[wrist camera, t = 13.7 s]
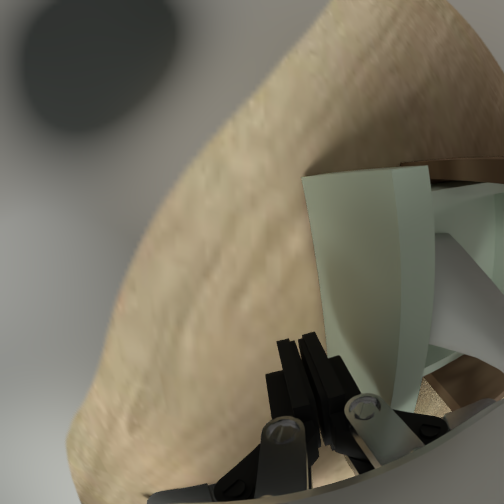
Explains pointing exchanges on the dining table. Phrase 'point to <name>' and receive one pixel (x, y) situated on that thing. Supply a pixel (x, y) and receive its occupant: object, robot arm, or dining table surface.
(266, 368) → the dining table surface
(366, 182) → the tray
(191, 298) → the dining table surface
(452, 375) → the caddy
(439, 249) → the flask
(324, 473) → the dining table surface
